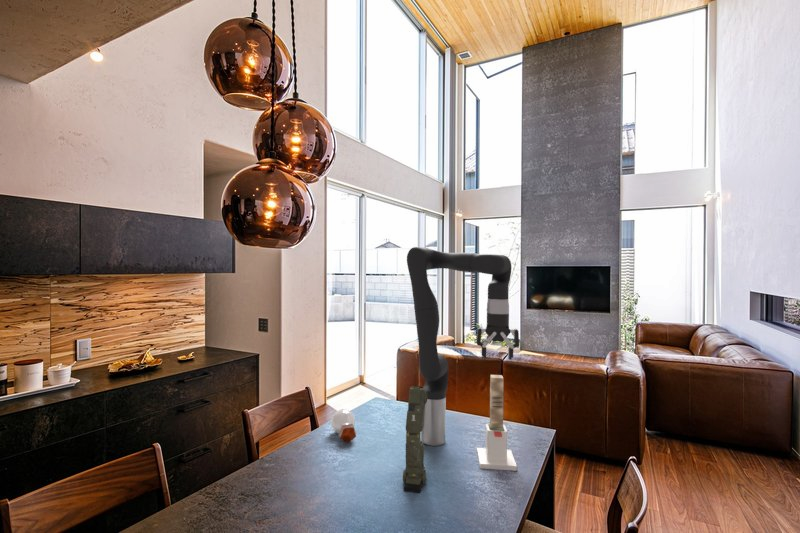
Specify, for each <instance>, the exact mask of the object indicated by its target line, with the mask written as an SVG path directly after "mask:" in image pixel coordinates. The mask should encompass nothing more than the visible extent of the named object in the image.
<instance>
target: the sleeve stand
mask: <svg viewBox="0 0 800 533" xmlns="http://www.w3.org/2000/svg"><path fill="white" fill-rule="evenodd" d="M476 454H477V460H478V465H479V469H487V470H501V471H503V470H504V471H514V472H515V471H518V469H517V468H518V466H517V463H516V460H515V458H514V455H513V452H512V449H508V430H507V427H506V424H503V431H497V430H490V425H489V423H485V447H476Z"/></svg>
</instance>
